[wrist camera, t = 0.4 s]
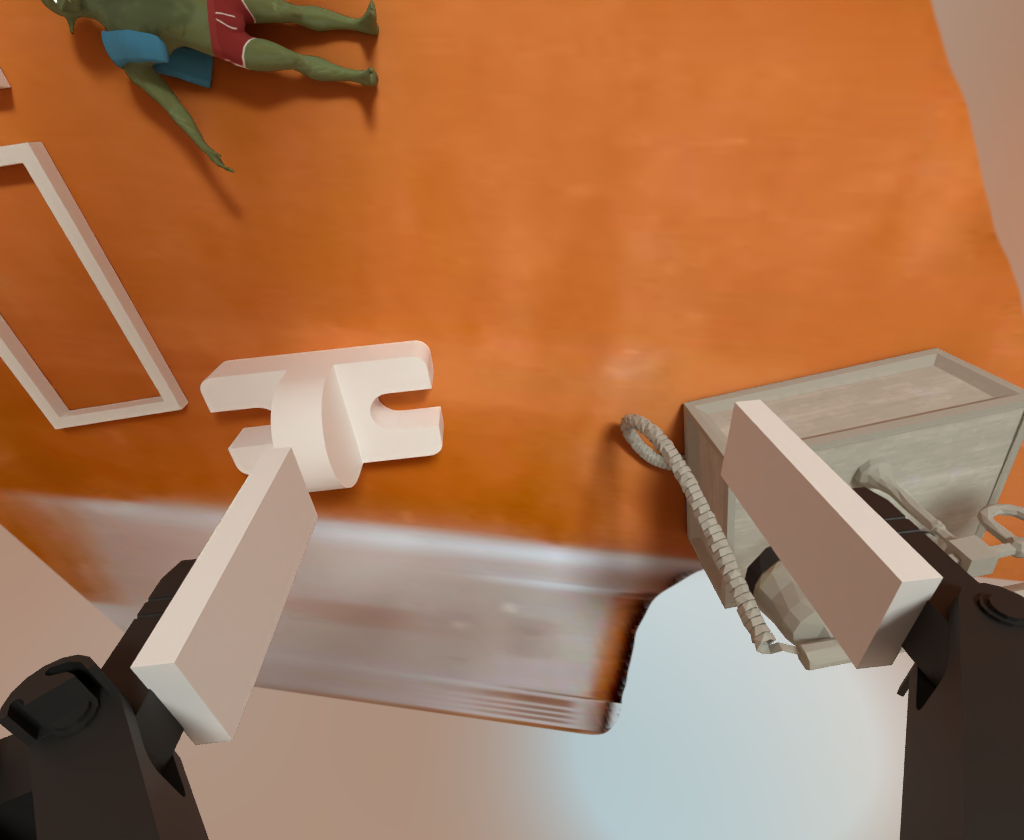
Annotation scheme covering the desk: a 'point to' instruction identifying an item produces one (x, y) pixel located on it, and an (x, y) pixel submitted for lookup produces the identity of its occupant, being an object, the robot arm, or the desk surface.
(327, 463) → the white slotted bracket
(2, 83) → the socket
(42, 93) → the desk surface
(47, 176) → the socket
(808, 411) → the rotary telephone
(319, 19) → the figurine
